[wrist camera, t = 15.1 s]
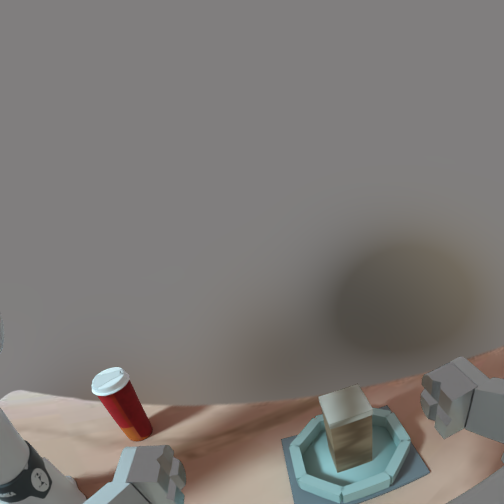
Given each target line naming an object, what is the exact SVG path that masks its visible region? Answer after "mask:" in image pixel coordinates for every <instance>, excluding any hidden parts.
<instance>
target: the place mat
mask: <svg viewBox="0 0 504 504" xmlns="http://www.w3.org/2000/svg"><path fill="white" fill-rule="evenodd" d="M379 409H383V410H389V411H391V410H390V409H389V407H388V406H387V405H386V406H384V407H381V408H379ZM391 413H392V412H391ZM297 436H298V435H296V436H292V437H288V438H284V439H281V440H282V445H283V450H284V455H285V460H286V465H287V470H288V475H289V480H290V485H291V490H292V494H293V499H294V504H359V503H361V502H364V501H367V500H370V499H372V498H375V497H378V496H380V495H383V494H385V493H388V492H390V491H392V490H395V489H397V488H399V487H402V486H404V485H406V484H408V483H411V482H413V481H415V480H417V479H419V478H421V477H423V476H425V475H427V474H429V473H430V471H429V470H428V468H427V467H426V465H425V463H424V462H423V460H422V459H421V457H420V455H419V454H418V452H417V451H416V449H415V448H414V446H413V444H412V443H411V442H410V449H409V452H408V455H407V457H406V459H405V461H404V463H403V465H402V467H401V469H400V471H399V473H398V475H397V476H396V478H395V480H394V482H393V484H390V485H389V487H388V488H385V489H383V490H380V491H378V492H376V493H374V494H372V495H370V496H368V497H365V498H362V499H358V500H353V501H350V502H347V503H344V502H343V501H341V503H337V502H334V501H331V500H328V499H324V498H321V497H319V496H317V495H315V494H313V493H310V492H308V491H305V490H303V489H301V488H300V486H298V483H297V480H296V476H295V472H294V467H293V463H292V458H291V454H290V449H289V447H290V444H291V443H292V442H293V440H294V439H295V438H296V437H297Z"/></svg>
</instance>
